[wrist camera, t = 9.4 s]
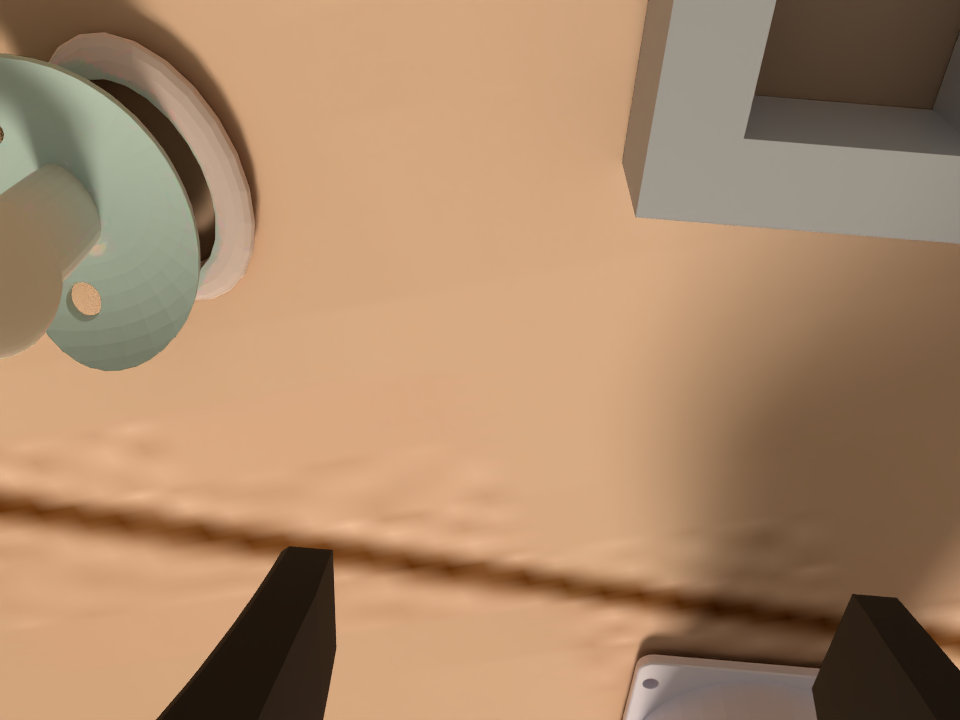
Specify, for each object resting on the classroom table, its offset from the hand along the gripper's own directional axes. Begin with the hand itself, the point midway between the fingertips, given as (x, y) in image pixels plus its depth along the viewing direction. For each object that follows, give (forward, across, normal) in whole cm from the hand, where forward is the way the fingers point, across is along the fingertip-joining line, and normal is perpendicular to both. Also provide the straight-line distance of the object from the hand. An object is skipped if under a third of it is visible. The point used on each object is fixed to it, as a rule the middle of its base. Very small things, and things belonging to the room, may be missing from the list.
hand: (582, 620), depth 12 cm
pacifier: (+11, +10, -2) cm, 15 cm away
